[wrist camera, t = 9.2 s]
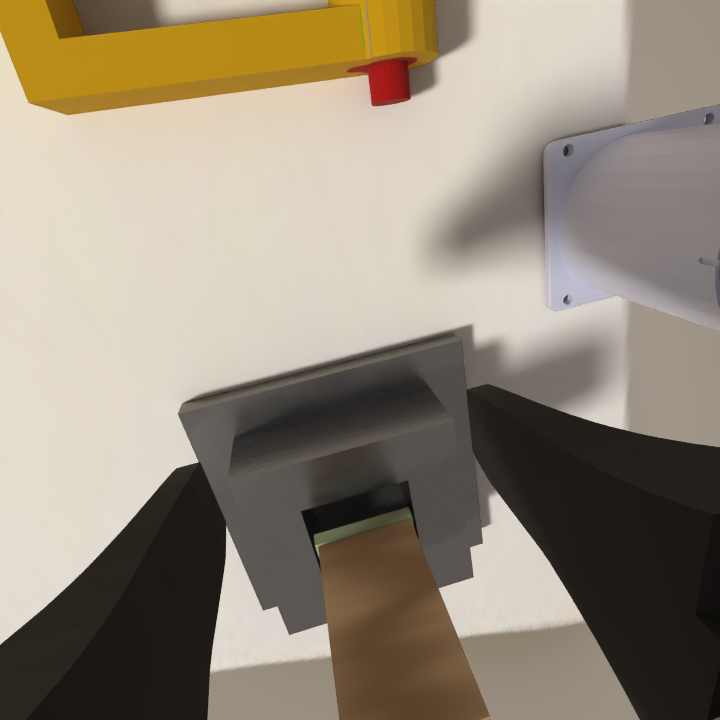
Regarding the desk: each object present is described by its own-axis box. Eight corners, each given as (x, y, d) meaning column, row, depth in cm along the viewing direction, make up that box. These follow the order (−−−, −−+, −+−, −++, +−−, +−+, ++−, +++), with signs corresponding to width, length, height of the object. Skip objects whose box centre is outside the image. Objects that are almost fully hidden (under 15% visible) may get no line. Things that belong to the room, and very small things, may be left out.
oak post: (408, 506, 19) (493, 713, 12) (421, 573, 21) (502, 789, 13) (313, 534, 18) (340, 765, 11) (335, 600, 20) (370, 837, 13)
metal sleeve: (453, 333, 22) (500, 373, 18) (476, 531, 28) (516, 601, 24) (181, 403, 21) (156, 466, 17) (263, 596, 27) (261, 682, 22)
